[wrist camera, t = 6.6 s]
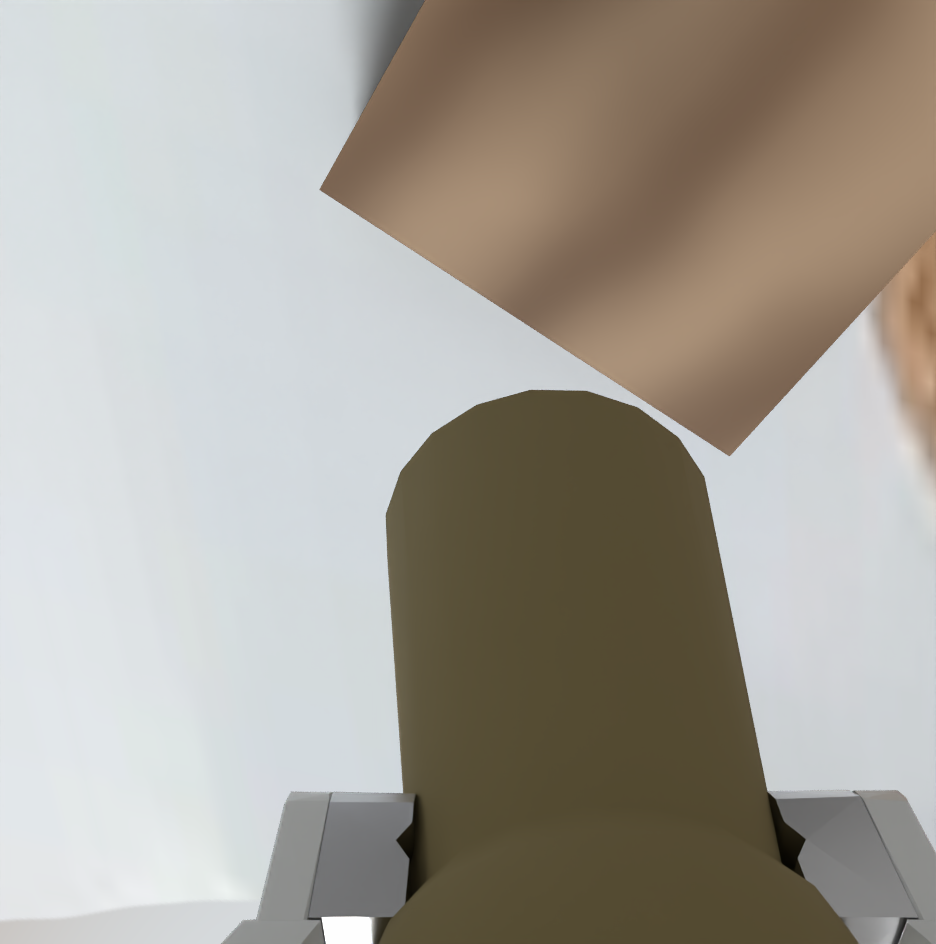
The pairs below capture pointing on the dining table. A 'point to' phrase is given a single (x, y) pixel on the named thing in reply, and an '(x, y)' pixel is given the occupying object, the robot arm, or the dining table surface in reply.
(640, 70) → the walnut stand
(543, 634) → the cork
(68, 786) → the dining table surface
